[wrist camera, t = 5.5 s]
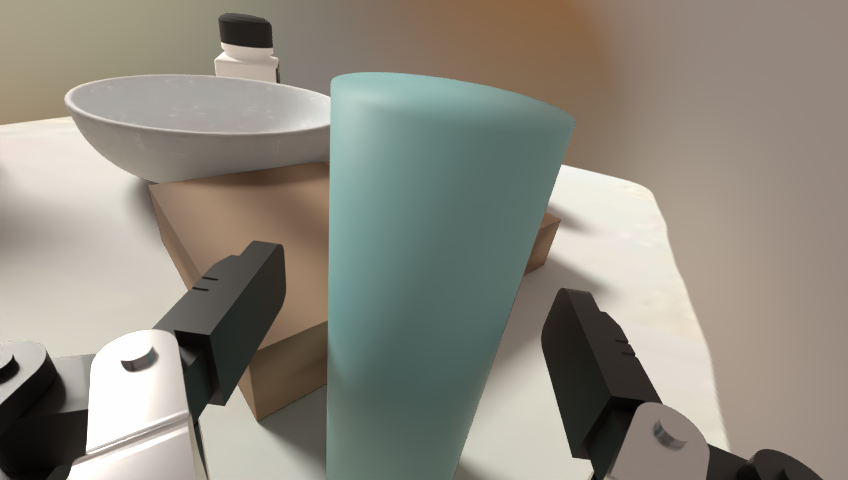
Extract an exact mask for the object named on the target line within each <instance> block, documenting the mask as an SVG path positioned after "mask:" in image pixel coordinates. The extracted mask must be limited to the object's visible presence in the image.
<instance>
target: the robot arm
mask: <svg viewBox="0 0 848 480" xmlns="http://www.w3.org/2000/svg"><path fill="white" fill-rule="evenodd" d="M285 296H286V272H285V255H284V248H283V245H282V244H276V243H270V242H263V241H257V240H254V241H252V242H251V243H250V244H249V245H248V246H247V247H246V249H245V250H244V251H243V252H242V253H241V254H240V255H239V256H237V255H230V256H228V257H226V258H224V259H223V260H221V261H219V262H217V263H215V264H214V265H213V266H212V267H211V268H210V269H209V270H208V271H207V272H206V273H205V274H204V275H203V276H202V279H199V280H198V281H197V282H196V283H195V284H194V285H193V287H192V290H189V291H188V292H187V293H186V294H185V295H184V296H183V297H182V298H181V299H180V300H179V301H178V302H177V303H176V304H175V305H174V306H173V307H172V308H171V309H170V311H169V312H168V313H167V314H166V315H165V316H164V317H163V318H162V319H161V320H160V321H159V322H158V323H157V324H156V325H155V326H154V327H153V328H152V329H151V330H142V331H137V332H134V333H130V334H127V335H125V336H122V337H120V338H118V339H116V340H115V341H113V342H111V343H110V344H108V345H107V346H106V347H105V348H103V349H102V350H101V351H100V352H99V353H98V354H90V355H80V356H71V357H61V358H50V356H49V354H48V353H47V351H46V349H45V347H44V346H43V345H42V344H40V343H38V342H35V341H30V340H15V341H8V342H3V343H0V480H66V479H67V477H68V476H69V475H70V479H69V480H210V476H209V470H208V465H207V459H206V454H205V448H204V443H203V437H202V431H201V426H200V421H199V416H200V415H201V413H202V412H203V410H204V408H205V407H206V405H207V404H213V405H220V406H225V405H226V403H227V401H228V399H229V398H230V396H231V394H232V393H233V391H234V389H235V387H236V386H237V384H238V382H239V380H240V379H241V377H242V375H243V374H244V372H245V370H246V368H247V367H248V365H249V363H250V362H251V360H252V358H253V356H254V355H255V353H256V351H257V349H258V348H259V346H260V344H261V343H262V341H263V339H264V337H265V336H266V334H267V332H268V330H269V329H270V327H271V325H272V324H273V322H274V320H275V318H276V317H277V315H278V313H279V312H280V310H281V308H282V306H283V303H284V300H285ZM628 342H629V341H628V340H627V338H626V336H625V334H624V332H623V330H622V329H621V327H620V326H619V325H618V324H617V323H616V322H615V321H614V320H613V319H612V318H611V317H610V316H609V315H608V314H607V313H606V312H601V311H600V310H599V308H598V306H597V304H596V302H595V300H594V298H593V296H592V295H591V293H589V292H586V291H579V290H573V289H566V288H561V289H560V290H559V291H558V293H557V295H556V298H555V300H554V302H553V305H552V307H551V309H550V312H549V314H548V317H547V319H546V321H545V324H544V326H543V330H542V336H541V344H542V350H543V353H544V357H545V360H546V364H547V368H548V371H549V375H550V378H551V382H552V386H553V389H554V393H555V396H556V400H557V404H558V407H559V411H560V414H561V418H562V421H563V425H564V429H565V432H566V436H567V439H568V443H569V447H570V450H571V454H572V457H573V458H580V459H587V460H591V463H592V467H593V472H592V473H591V475H590V476H589V478H588V480H823V479H822V478H820V477H819V476H818V475H817V474H816V473H815V472H813V471H812V470H811V469H810V468H808V467H807V466H806V465H804V464H803V463H801V462H800V461H798V460H796V459H794V458H793V457H791V456H788V455H787V454H784V453H782V452H779V451H775V450H770V449H763V450H760V451H758V452H757V453H756V454H755V455H754V456H752V457H751V458H750V459H749V460H745V459H743V458H741V457H738V456H736V455H733V454H731V453H729V452H726V451H724V450H722V449H719V448H717V447H715V446H712V445H710V444H708V443H707V442H706V440H705V438H704V436H703V435H702V434H701V432H700V431H699V430H698V428H697V427H696V426H695V425H694V424H693V423H692V422H691V421H690V420H689V419H687V418H686V417H685V416H684V415H682V414H681V413H679V412H678V411H676V410H674V409H672V408H670V407H668V406H666V405H663V403H662V401H661V400H660V398H659V396H658V394H657V392H656V390H655V389H654V387H653V385H652V383H651V381H650V380H649V378H648V376H647V374H646V372H645V370H644V369H643V367H642V365H641V363H640V361H639V360H638V358H637V357H635V352H634V350H633V349H632V347H631V345H630V344H628Z"/></svg>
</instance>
